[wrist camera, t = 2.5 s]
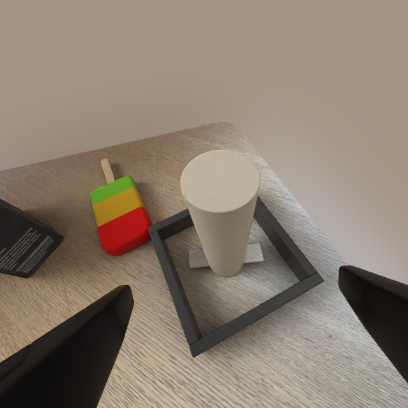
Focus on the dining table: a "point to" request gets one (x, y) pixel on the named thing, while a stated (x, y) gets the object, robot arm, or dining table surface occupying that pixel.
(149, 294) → the dining table surface
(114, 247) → the popsicle
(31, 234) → the box
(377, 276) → the robot arm
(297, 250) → the grey picture frame
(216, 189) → the white tall round cylinder
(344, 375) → the dining table surface
